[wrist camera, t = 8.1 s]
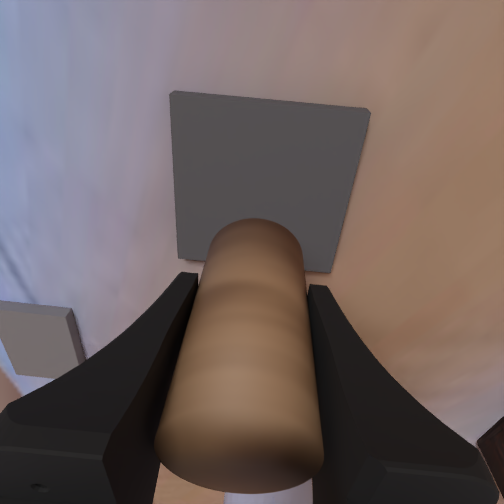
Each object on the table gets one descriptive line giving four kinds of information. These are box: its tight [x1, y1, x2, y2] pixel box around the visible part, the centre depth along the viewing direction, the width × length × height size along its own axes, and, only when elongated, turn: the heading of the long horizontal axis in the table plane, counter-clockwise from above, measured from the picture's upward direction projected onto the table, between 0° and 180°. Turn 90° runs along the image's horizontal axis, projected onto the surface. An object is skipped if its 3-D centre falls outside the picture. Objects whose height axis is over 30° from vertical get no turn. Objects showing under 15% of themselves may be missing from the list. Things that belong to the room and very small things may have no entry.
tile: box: [0, 300, 86, 379], centre depth 30 cm, size 2×6×8 cm
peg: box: [154, 218, 324, 494], centre depth 12 cm, size 4×4×8 cm
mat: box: [169, 91, 371, 273], centre depth 21 cm, size 10×10×1 cm
